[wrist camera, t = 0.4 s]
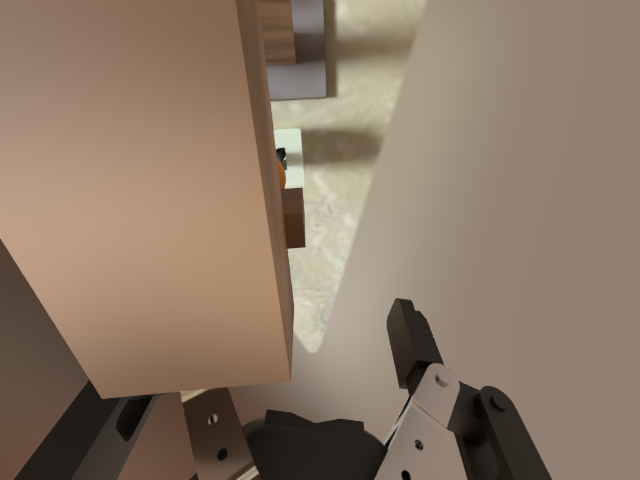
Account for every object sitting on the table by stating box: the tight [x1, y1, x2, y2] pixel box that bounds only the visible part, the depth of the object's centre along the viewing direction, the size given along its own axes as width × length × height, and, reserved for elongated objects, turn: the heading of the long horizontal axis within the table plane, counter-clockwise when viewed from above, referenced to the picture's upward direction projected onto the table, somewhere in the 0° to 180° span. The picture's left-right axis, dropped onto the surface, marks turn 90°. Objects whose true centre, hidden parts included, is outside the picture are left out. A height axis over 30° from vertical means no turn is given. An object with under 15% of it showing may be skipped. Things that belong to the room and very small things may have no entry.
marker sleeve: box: [274, 128, 305, 187], centre depth 27 cm, size 5×5×9 cm
